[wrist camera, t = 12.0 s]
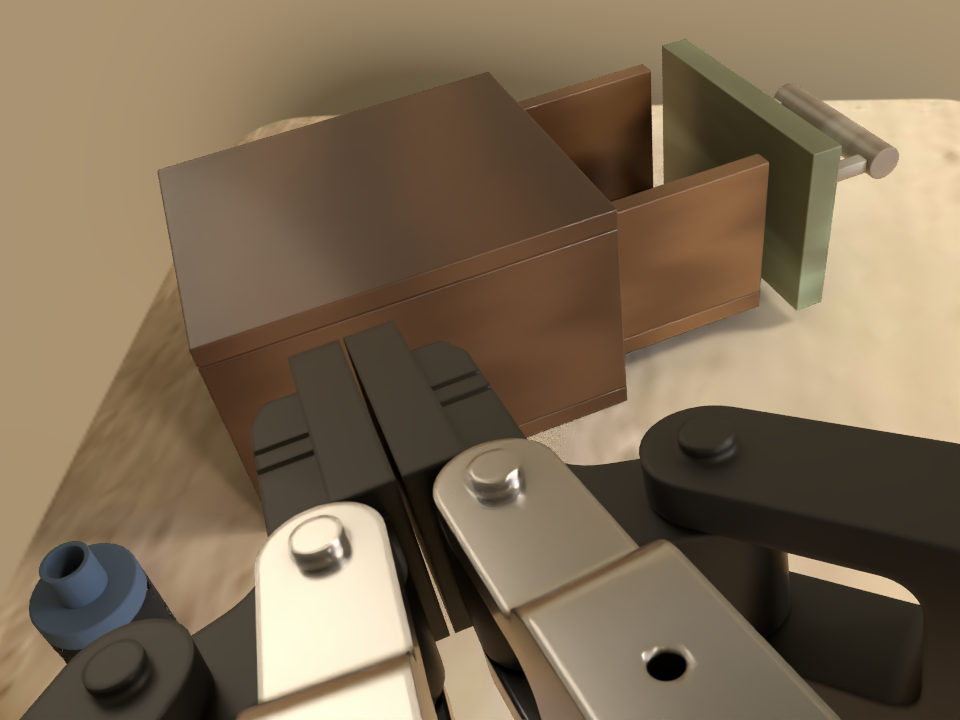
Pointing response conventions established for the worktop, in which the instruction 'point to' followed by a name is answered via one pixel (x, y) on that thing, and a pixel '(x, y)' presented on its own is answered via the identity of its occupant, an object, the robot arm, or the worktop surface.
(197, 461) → the worktop surface
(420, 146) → the cabinet
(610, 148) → the drawer
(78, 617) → the vaping device
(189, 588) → the worktop surface
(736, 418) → the robot arm
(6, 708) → the worktop surface
